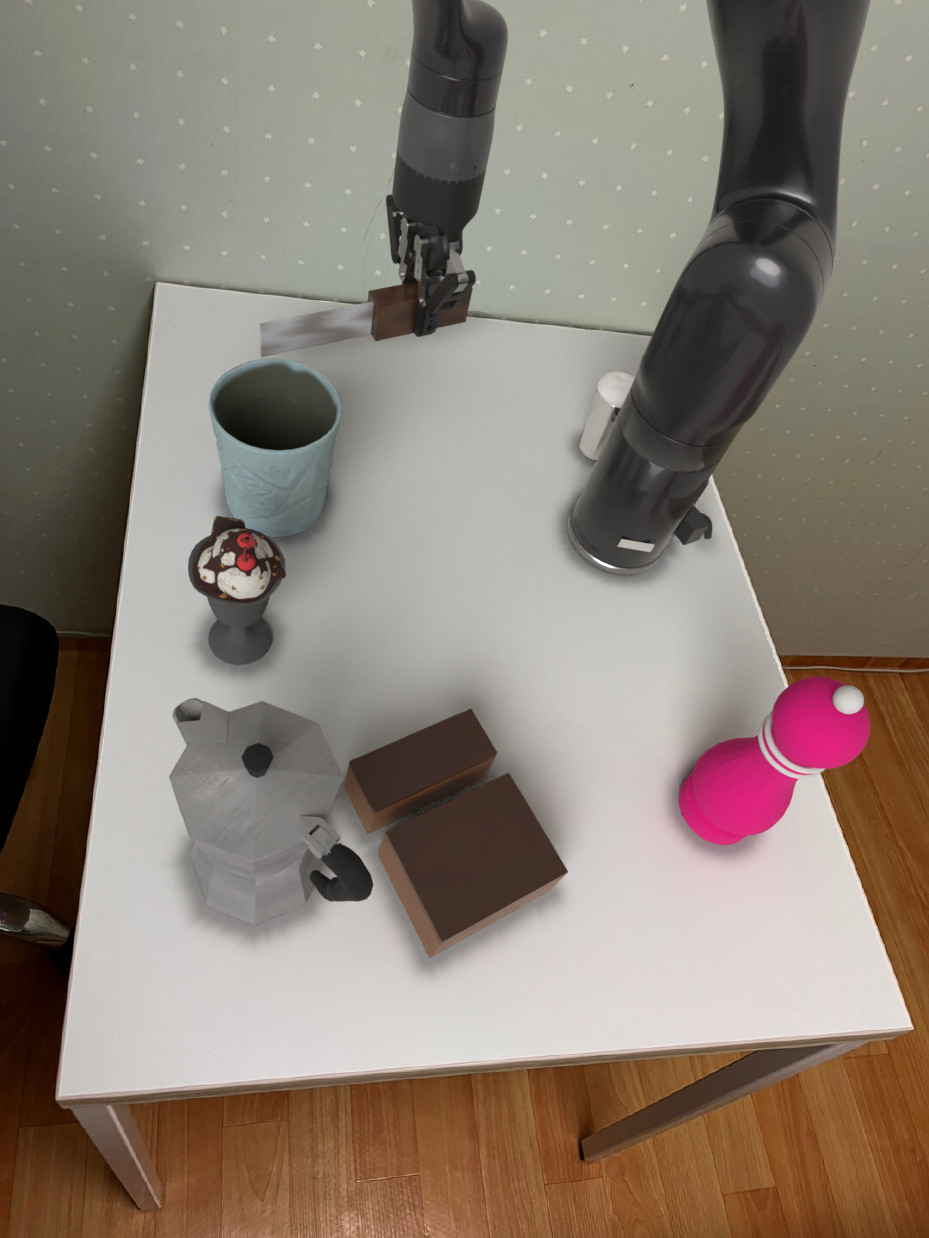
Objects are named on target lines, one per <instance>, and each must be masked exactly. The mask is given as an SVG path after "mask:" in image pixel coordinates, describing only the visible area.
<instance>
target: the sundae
mask: <svg viewBox="0 0 929 1238" xmlns="http://www.w3.org/2000/svg"><path fill="white" fill-rule="evenodd" d="M187 561H188V563H187V573H188V575H187V576H188V578H189V581H190V584H191V586H192V587H193V588H194V589H195V590H196V591H197V592H198V593H199V594H201V595H202V596H204V597H206V600H207V602H208V605H209V607H210V609H211V611H212V613H213V615H214V616H215V618H216V621H214V623H213V624H212V626H211V627H210V629H209V631H208V638H207V639H208V647H209V648H210V650H211V652H212V654H213V655H214V656H215V657H217V658H218V659H220V661H223V663H227V664H231V665H235V666H236V665H237V666H240V665H241V666H242V665H249V664H253V663H255V662H258V661H259V660H261V659H262V658H263V657H264V656H265V655H266V654H267V653H268V652H269V651H270V648H271V646H272V643H273V633H272V629H271V627H270V626H269V624H268V622H267V621H266V620H265V619H263V618H262V617H263V615H264V613H265V611H266V609H267V608H268V604H269V601H270V597H271V596H272V595H273V594H274V593H275V591H277V589H278V588H279V586H280V585H281V582H282V580H284V579H285V578H286V576H287V572H286V559H285V555H284V554H283V552H282V551H281V549H280V548H279V546H278V545H277V544H276V542H275V541H274V540H272V539H271V538H270V536H266V535H264V534H263V533H261V532H258V531H256V530H253V529H248V528H246V527H245V523H244V520H241V519H236V518H234V517H229V516H222V515H221V516H220V515H217V516H214V519H213V523H212V527H211V532H210V535H207V536H205V537H204V538H202V539H201V540H200V541H198V542H197V543H196V544H195V545H194V547H193V548H192V550H191V552H190V555H189V557H188V560H187Z"/></svg>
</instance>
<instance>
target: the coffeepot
mask: <svg viewBox="0 0 929 1238" xmlns="http://www.w3.org/2000/svg"><path fill="white" fill-rule="evenodd" d="M172 718H173V720H174V723H175V725H176V726H177V729H178V730H179V733H180V736H182V739H183V742H184V743H185V745H186V746H185V748H184V750H183V751H182V753H181V755H180V756H179V758H178V760H177V762H176V763H175V765H174V767H173V769H172V770H171V772H170V774H169V776H168V779H169V781H170V784H171V788H172V791H173V795H174V797H175V800H176V803H177V805H178V809H179V812H180V814H181V818H182V820H183V822H184V826H185V828H186V831H187V834H188V836H189V838H190V839H191V840H192V841H193V844H192V848H191V851H190V854H189V855H188V856H189V861H190V863H191V867H192V869H193V872H194V876H195V878H196V881H197V884H198V887H199V891H200V893H201V896H202V899H203V902H204V905H205V907H208V908H210V909H213V910H215V911H218V912H220V913H222V914H225V915H226V916H228V917H230V918H233V919H237V920H240V921H243V922H245V923H248V924H250V925H253V926H257V925H260V924H262V923H264V922H267V921H270V920H272V919H275V918H277V917H280V916H282V915H284V914H286V913H288V912H290V911H292V910H295V909H296V908H299V907H301V906H303V905H306V904H307V902H308V899H309V897H310V895H311V892H312V890H313V888H315V889H316V890H317V892H318V893H319V895H320V896H321V897H322V898H323V899H324V900H326V901H328V902H331V903H332V902H337V903H338V902H340V903H342V902H358V903H359V902H361V901H366V900H367V899H368V898H369V897H370V896H371V895H372V891H373V888H374V882H373V878H372V874H371V872H370V871H369V869H368V868H367V866H366V864H365V862H364V861H363V859H362V858H361V856H360V855H359V854H357V852H355V851H354V850H353V849H352V848H351V847H348V846H347V845H344V844H342V843H341V842H339V841H340V840H341V835H340V834H339V833H338V832H336V830H335V829H334V828H333V827H331V826H330V824H329V823H327V822H326V819H327V818H326V817H327V816H328V813H329V811H330V809H331V807H332V804H333V803H334V801H335V798H336V796H337V793H338V791H339V789H340V787H341V785H342V782H343V780H344V776H343V774H342V771H341V769H340V767H339V764H338V763H337V760H336V758H335V757H336V756H334V752H333V751H332V749H331V746H330V744H329V742H328V739H327V736H326V735H325V732H324V730H323V728H322V726H321V723H319V722H317V721H314V720H313V719H310V718H307V717H305V716H302V715H300V714H297V713H294V712H292V711H289V710H287V709H284V708H282V707H279V706H277V705H275V704H272V703H269V702H266V701H263V700H260V701H257V702H255V703H252V704H251V703H250V704H249V705H246V706H243V707H239V708H237V709H233V710H229V711H228V710H226V709H223V708H221V707H219V706H217V705H214V704H212V703H211V702H208V701H205V700H202V699H199V698H198V697H193V698H189V699H186V700H184V701H182V702H180V703H179V704H178V705H176V707H175V708H174V709H173V712H172ZM324 864H325V866H326V867H327V868H328V869H329V870H330V871H331V872H332V873H333V875H335V877H334V876H333V877H332V878H329V877H328V876H326V875H325V874H324V873H322V872H321V869H322V867H323V865H324Z"/></svg>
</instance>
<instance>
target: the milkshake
mask: <svg viewBox="0 0 929 1238" xmlns="http://www.w3.org/2000/svg"><path fill="white" fill-rule="evenodd" d="M634 379H635V377H634V376H633V375H631V374H629V373H627V372H623V371H609V372H606V373H605V374H604V375H603V376H601V378H599V381H598V383H597V386H596V390H595V393H594V396H593V400H592V403H591V408H590V412H589V413H588V414H589V416H588V418H587V421H586V424H585V426H584V430H583V433H582V436H581V439H580V442H579V445H578V447H579V449H580V452H581V453H582V455H584V456H585V457H587V458H588V459H590V460H593V461H596V460H597V458H598V456H599V454H600V452H601V450H602V447H603V445H604V443H605V441H606V439H607V437H608V435H609V432H610V430H611V428H612V426H613V424H614V422H615V420H616V417H617V415H618V413H619V411H620V409H621V406H622V404H623V402H624V400H625V398H626V396H627V394H628V391H629V389H630V387H631V385H632V383H633V381H634Z"/></svg>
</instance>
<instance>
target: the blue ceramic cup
mask: <svg viewBox="0 0 929 1238" xmlns="http://www.w3.org/2000/svg"><path fill="white" fill-rule="evenodd" d="M208 411H209V415H210V420H211V425H212V429H213V434H214V437H215V439H216V449H217V454H218V455H217V456H218V457H219V463H220V467H221V468H220V471H221V475H222V478H223V487H224V488H223V489H224V493H225V499H226V504H227V507H228V509H229V511H230V513H231V514H232V516H233V518H236V519H241V520H244V523H245V527H246V528H248V529H253V530H256V531H258V532H261V533H263V534H264V535H266V536H267V537H269V538H270V537H271V538H284V537H291V536H294V535H297V534H300V533H302V532H305V531H306V530H308V529H309V528H311V527H312V526H313V525H314V524H315V523H316V522H317V520H318V519H319V518H320V516H321V515H322V514H323V510H324V507H325V503H326V496H327V491H328V486H327V483H328V482H329V478H330V475H331V469H332V466H333V456H334V451H335V445H336V440H337V437H338V433H339V429H340V424H341V422H342V421H341V420H342V414H343V402H342V398H341V395H340V394H339V391H338V389H337V388H336V387H335V385H334V384H333V383H332V382H331V381H330V380H329V379H328V378H327V377H326V376H325V375H324V374H323V373H322V372H320V371H318V370H316V369H315V368H312V367H311V366H309V365H307V364H304V363H302V362H299V361H295V360H291V359H284V358H275V357H274V358H271V357H269V358H266V357H264V358H259V359H253V360H248V361H246V362H243V363H240V364H239V365H237V366H234V367H232V368H231V369H229V370H227V371H226V372H224V373H223V374H222V375H221V376H220V377H218V379H217V380H216V382H215V383H214V384H213V387H212V389H211V391H210V393H209V399H208Z"/></svg>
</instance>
